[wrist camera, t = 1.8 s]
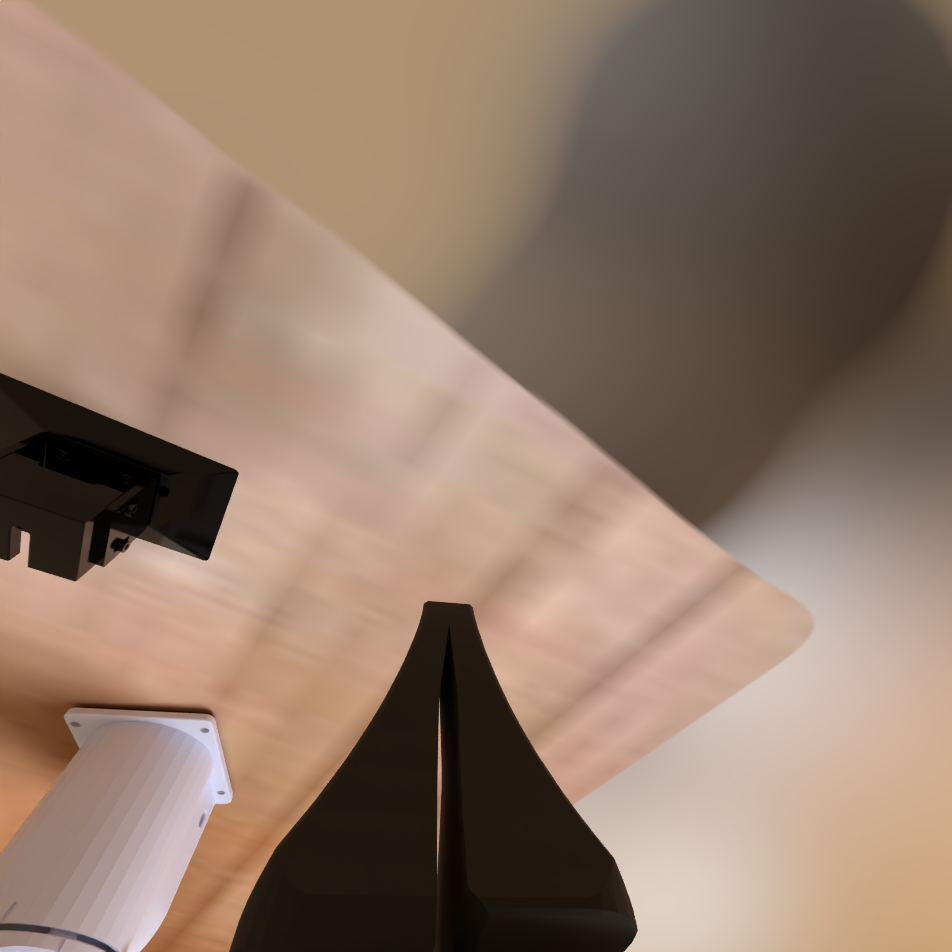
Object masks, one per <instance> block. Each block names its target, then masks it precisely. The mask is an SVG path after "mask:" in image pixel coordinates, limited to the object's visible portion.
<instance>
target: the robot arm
mask: <svg viewBox="0 0 952 952" xmlns="http://www.w3.org/2000/svg"><path fill="white" fill-rule="evenodd" d="M439 697H440V728H441V759H442V793H441V814H440V834H439V854H438V873H437V771H438V723H439ZM64 719H65V721H66V723H67V725H68V727H69V729H70V731H71V733H72V735H73V737H74V739H75V741H76V743H77V745H78V747H79V750H78V752H77V753H76V754H75V756H74V757H73V758H72V760H71V761H70V762H69V764H68V765H67V766H66V768H65V769H64V770H63V772H62V773H61V774H60V775H59V777H58V778H57V779H56V781H55V782H54V783H53V785H52V786H51V787H50V789H49V790H48V791H47V793H46V794H45V795H44V797H43V798H42V799H41V801H40V802H39V803H38V805H37V806H36V807H35V808H34V810H33V811H32V812H31V814H30V815H29V816H28V818H27V819H26V820H25V822H24V823H23V824H22V826H21V827H20V828H19V830H18V831H17V832H16V834H15V835H14V836H13V837H12V839H11V840H10V841H9V843H8V844H7V845H6V847H5V848H4V849H3V851H2V852H1V853H0V952H140V951H141V950H142V949H143V948H144V946H145V945H146V944H147V943H148V942H149V941H150V939H151V938H152V936H153V935H154V934H155V932H156V931H157V930H158V928H159V926H160V925H161V923H162V921H163V920H164V918H165V916H166V914H167V912H168V910H169V907H170V905H171V903H172V901H173V898H174V896H175V894H176V891H177V889H178V887H179V885H180V882H181V880H182V878H183V875H184V873H185V871H186V869H187V866H188V864H189V862H190V859H191V857H192V855H193V853H194V850H195V848H196V846H197V844H198V841H199V839H200V837H201V834H202V832H203V830H204V828H205V825H206V823H207V821H208V818H209V816H210V814H211V812H212V809H213V807H214V805H215V804H227V803H230V802H231V800H232V798H233V792H232V788H231V783H230V779H229V775H228V771H227V767H226V763H225V759H224V754H223V750H222V746H221V742H220V738H219V734H218V729H217V725H216V721H215V719H214V717H213V716H212V715H209V714H198V713H178V712H157V711H137V710H116V709H96V708H71V709H69V710H68V711H67V712H66V713H65V715H64ZM637 931H638V930H637V925H636V920H635V916H634V911H633V908H632V905H631V901H630V898H629V896H628V893H627V890H626V887H625V884H624V882H623V879H622V876H621V874H620V871H619V869H618V866H617V864H616V862H615V859H614V858H613V856H612V855H611V854H610V853H609V852H608V850H607V849H606V848H605V847H604V845H603V844H602V843H601V842H600V840H599V839H598V838H597V837H596V836H595V834H594V833H593V832H592V831H591V829H590V828H589V827H588V825H587V824H586V823H585V822H584V820H583V819H582V818H581V816H580V815H579V814H578V812H577V811H576V810H575V808H574V807H573V805H572V804H571V803H570V801H569V800H568V799H567V797H566V796H565V795H564V793H563V792H562V790H561V789H560V787H559V786H558V784H557V783H556V781H555V780H554V778H553V777H552V775H551V774H550V772H549V771H548V769H547V768H546V767H545V765H544V764H543V762H542V761H541V759H540V758H539V756H538V754H537V753H536V751H535V749H534V748H533V746H532V744H531V743H530V741H529V740H528V738H527V736H526V734H525V733H524V731H523V729H522V727H521V726H520V724H519V722H518V720H517V718H516V717H515V715H514V713H513V711H512V709H511V707H510V705H509V703H508V701H507V699H506V697H505V695H504V693H503V691H502V688H501V686H500V684H499V682H498V680H497V677H496V675H495V673H494V670H493V668H492V666H491V663H490V661H489V658H488V656H487V653H486V651H485V648H484V645H483V642H482V639H481V636H480V633H479V630H478V627H477V624H476V620H475V616H474V612H473V607H472V606H471V605H470V604H458V603H446V602H433V601H427V602H426V603H424V606H423V612H422V616H421V620H420V623H419V626H418V629H417V632H416V634H415V637H414V640H413V642H412V644H411V647H410V649H409V651H408V653H407V656H406V658H405V660H404V662H403V664H402V667H401V669H400V671H399V672H398V674H397V676H396V678H395V680H394V682H393V684H392V686H391V688H390V690H389V692H388V693H387V695H386V697H385V699H384V701H383V702H382V704H381V706H380V707H379V709H378V711H377V712H376V714H375V716H374V717H373V719H372V721H371V722H370V724H369V725H368V727H367V729H366V730H365V732H364V733H363V735H362V736H361V738H360V739H359V741H358V742H357V744H356V745H355V747H354V748H353V750H352V751H351V753H350V754H349V755H348V757H347V758H346V760H345V761H344V763H343V764H342V765H341V767H340V768H339V769H338V771H337V772H336V773H335V775H334V776H333V777H332V779H331V780H330V781H329V783H328V784H327V785H326V787H325V788H324V789H323V791H322V792H321V793H320V795H319V796H318V797H317V799H316V800H315V801H314V802H313V804H312V805H311V806H310V807H309V809H308V810H307V811H306V812H305V813H304V815H303V816H302V817H301V818H300V819H299V821H298V822H297V823H296V824H295V825H294V827H293V828H292V829H291V830H290V831H289V833H288V834H287V835H286V836H285V837H284V839H283V840H282V841H281V842H280V843H279V845H278V846H277V847H276V849H275V850H274V852H273V854H272V856H271V858H270V859H269V861H268V863H267V865H266V866H265V868H264V870H263V872H262V873H261V875H260V877H259V879H258V881H257V883H256V885H255V887H254V889H253V891H252V893H251V895H250V897H249V899H248V901H247V903H246V906H245V908H244V910H243V913H242V915H241V918H240V920H239V923H238V926H237V929H236V932H235V935H234V938H233V942H232V945H231V948H230V951H229V952H624V951H625V950H626V949H627V947H628V946H629V945H630V944H631V943H632V941H633V939H634V938H635V936H636V933H637Z"/></svg>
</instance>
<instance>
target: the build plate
mask: <svg viewBox="0 0 952 952" xmlns="http://www.w3.org/2000/svg"><path fill="white" fill-rule="evenodd" d="M237 477H238V472H237V471H236V470H235V469H233V468H230V467H228V466H225V465H223V464H220V463H218V462H216V461H213V460H211V459H208V458H206V457H203V456H201V455H198V454H196V453H194V452H191V451H189V450H186V449H184V448H181V447H179V446H177V445H174V444H172V443H169V442H167V441H164V440H162V439H160V438H157V437H155V436H152V435H150V434H147V433H145V432H143V431H140V430H138V429H135V428H133V427H130V426H128V425H125V424H123V423H121V422H118V421H116V420H113V419H111V418H108V417H106V416H104V415H101V414H99V413H96V412H94V411H91V410H89V409H87V408H84V407H82V406H79V405H77V404H74V403H72V402H69V401H67V400H65V399H62V398H60V397H57V396H55V395H52V394H50V393H48V392H45V391H43V390H40V389H38V388H35V387H33V386H31V385H28V384H26V383H23V382H21V381H18V380H16V379H13V378H11V377H9V376H6V375H4V374H1V373H0V559H4V560H7V561H8V560H10V559H12V558H13V557H15V556H16V555H18V554H19V553H20V542H21V531H25V532H28V533H29V534H30V541H29V554H28V567H30V568H33V569H36V570H40V571H43V572H46V573H49V574H53V575H56V576H59V577H62V578H66V579H69V580H72V581H77V580H78V579H79V578H80V577H82V576H83V575H84V574H85V573H86V572H87V571H89V570H90V569H91V568H92V567H93V566H94V565H95V564H96V565H99V566H103V567H105V566H106V565H107V564H108V563H109V562H110V561H111V560H112V559H114V558H115V557H116V556H117V555H118V554H119V553H120V552H122V553H124V552H125V551H126V550H127V549H128V548H129V546H130V543H131V542H132V541H133V540H135V539H136V538H139V539H142V540H145V541H148V542H151V543H154V544H157V545H160V546H163V547H166V548H169V549H172V550H175V551H178V552H181V553H184V554H187V555H190V556H193V557H195V558H198V559H201V560H208V559H209V557H210V554H211V551H212V548H213V546H214V543H215V540H216V537H217V534H218V531H219V528H220V526H221V523H222V520H223V517H224V514H225V511H226V509H227V506H228V503H229V500H230V497H231V494H232V491H233V489H234V486H235V483H236V480H237Z"/></svg>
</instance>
